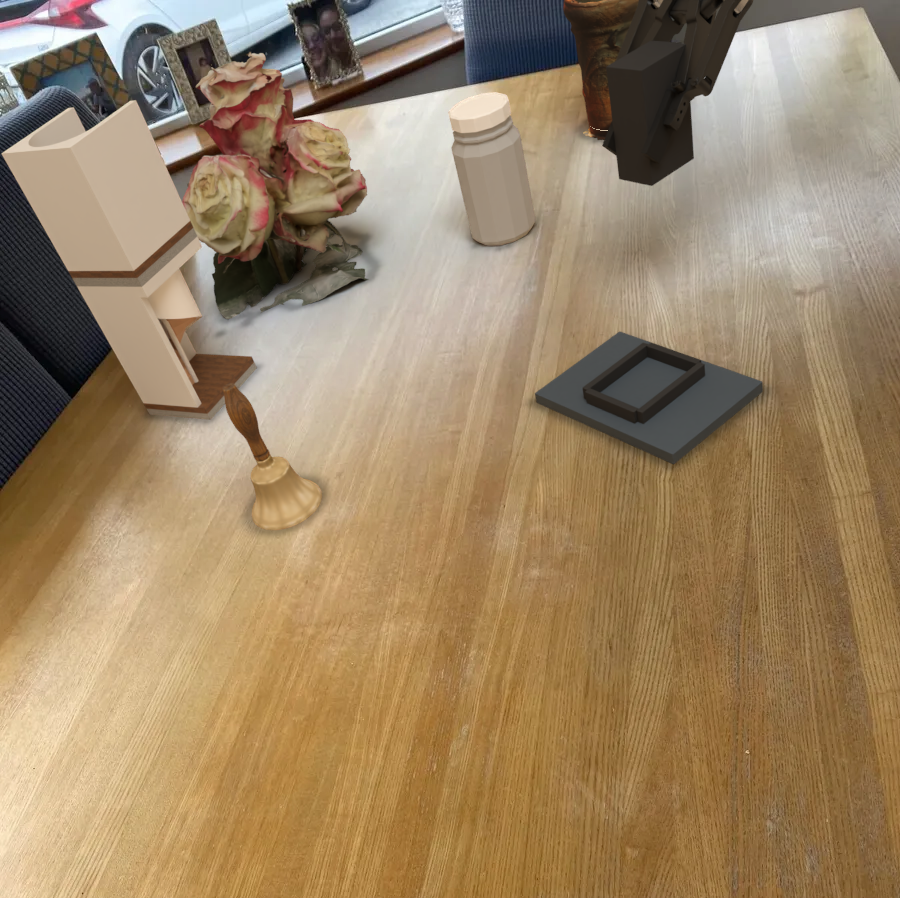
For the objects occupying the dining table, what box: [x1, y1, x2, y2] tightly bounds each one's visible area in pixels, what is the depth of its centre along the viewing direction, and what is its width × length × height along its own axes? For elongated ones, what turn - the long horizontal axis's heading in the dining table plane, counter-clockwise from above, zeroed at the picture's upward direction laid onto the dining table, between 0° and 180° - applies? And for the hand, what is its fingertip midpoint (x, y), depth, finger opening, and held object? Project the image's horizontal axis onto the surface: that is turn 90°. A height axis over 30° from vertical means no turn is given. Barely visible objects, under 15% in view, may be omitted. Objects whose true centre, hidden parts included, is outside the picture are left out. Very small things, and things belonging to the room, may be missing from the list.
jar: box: [447, 91, 537, 247], centre depth 132 cm, size 10×10×18 cm
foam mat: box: [534, 331, 764, 465], centre depth 102 cm, size 20×14×3 cm
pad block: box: [606, 41, 695, 187], centre depth 103 cm, size 5×7×12 cm
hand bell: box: [223, 383, 323, 531], centre depth 99 cm, size 8×8×16 cm
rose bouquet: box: [181, 51, 368, 320], centre depth 135 cm, size 26×29×30 cm
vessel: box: [562, 0, 639, 140], centre depth 148 cm, size 14×14×20 cm
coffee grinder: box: [1, 99, 258, 421], centre depth 115 cm, size 11×11×35 cm
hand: (630, 154), depth 103 cm, fingers closed on pad block, 5 cm apart
